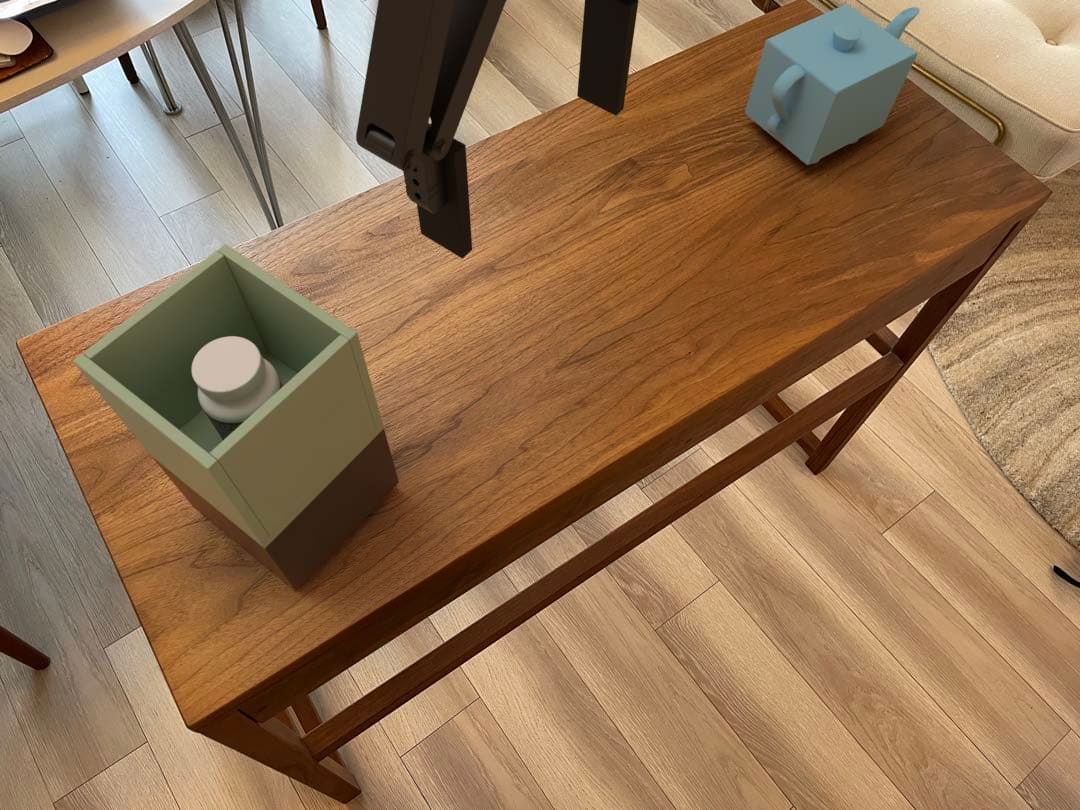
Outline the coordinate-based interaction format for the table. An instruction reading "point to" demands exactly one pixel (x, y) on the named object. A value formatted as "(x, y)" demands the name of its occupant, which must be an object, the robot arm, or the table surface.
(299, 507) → the waste bin
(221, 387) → the pill bottle
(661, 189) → the table surface
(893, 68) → the teapot
